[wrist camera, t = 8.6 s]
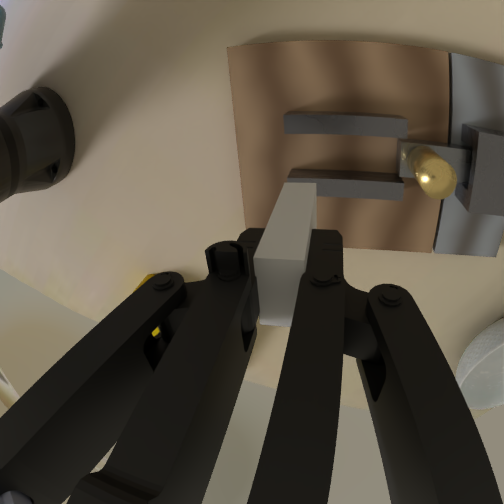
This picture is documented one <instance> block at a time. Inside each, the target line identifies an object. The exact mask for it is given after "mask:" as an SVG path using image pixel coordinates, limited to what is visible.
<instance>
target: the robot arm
mask: <svg viewBox="0 0 504 504" xmlns="http://www.w3.org/2000/svg"><path fill="white" fill-rule="evenodd" d="M5 19H6V12H5V10H4V8H3V7H2V6H1V5H0V48H2V46H3V44H2V42H1V41H2V35H3V30H4V24H5ZM74 148H75V139H74V130H73V124H72V120H71V117H70V114H69V112H68V109H67V107H66V105H65V104H64V102H63V101H62V99H61V98H60V97H59V96H58V94H56V93H55V92H54V91H53V90H51V89H49V88H46V87H37V88H33V89H29V90H26V91H23V92H21V93H20V94H18V95H17V96H15V97H14V98H13V99H11V100H10V101H9V102H7V103H6V104H5V105H3V106H2V107H1V108H0V203H1V202H2V201H4V200H5V199H7V198H9V197H10V196H12V195H14V194H18V193H24V192H31V191H38V190H44V189H47V188H49V187H51V186H53V185H55V184H57V183H58V182H60V181H61V180H63V179H64V178H65V176H66V175H67V173H68V172H69V170H70V167H71V165H72V161H73V157H74ZM316 226H317V198H316V183H284V185H283V188H282V190H281V193H280V195H279V197H278V200H277V202H276V205H275V207H274V209H273V212H272V214H271V217H270V219H269V221H268V224H267V226H266V228H248V229H246V230H245V231H244V232H242V233H241V234H240V236H239V238H238V240H237V241H222V242H218V243H215V244H213V245H211V246H209V247H208V248H207V249H206V250H205V255H206V260H207V265H208V270H209V274H208V276H207V278H206V279H205V280H202V281H196V282H189V283H185V282H184V279H183V277H182V275H181V274H179V273H177V272H162V273H159V274H156V275H154V276H153V277H151V278H150V279H148V280H147V281H146V282H145V283H144V284H142V285H141V286H140V287H139V288H138V289H137V290H136V291H134V292H133V293H132V294H131V295H130V296H129V297H128V298H126V299H125V300H124V301H123V302H122V303H121V304H120V305H119V306H117V307H116V308H115V309H114V310H113V311H112V312H111V313H110V314H108V315H107V316H106V317H105V318H104V319H103V320H102V321H101V322H100V323H99V324H98V325H96V326H95V327H94V328H93V329H92V330H91V331H90V332H89V333H88V334H86V335H85V336H84V337H83V338H82V339H81V340H80V341H79V342H78V343H77V344H76V345H75V346H73V347H72V348H71V349H70V350H69V351H68V352H67V353H66V354H65V355H64V356H63V357H62V358H61V359H60V360H59V361H57V362H56V363H55V364H54V365H53V366H52V367H51V368H50V369H49V370H48V371H47V372H46V373H45V374H44V375H43V376H42V377H41V378H40V379H39V380H38V381H37V382H36V383H35V384H34V385H33V386H32V387H31V388H30V389H29V390H28V391H27V392H26V393H25V394H24V395H23V396H22V397H21V398H20V399H19V400H18V401H17V402H16V403H15V404H14V405H13V406H12V407H11V408H10V409H9V410H8V411H7V412H6V413H5V414H4V415H3V416H2V417H1V418H0V504H62V503H63V502H64V501H65V500H66V499H67V498H68V497H69V496H70V495H71V496H70V498H69V500H68V502H67V504H202V501H203V498H204V495H205V492H206V489H207V486H208V484H209V481H210V478H211V475H212V472H213V469H214V466H215V463H216V460H217V458H218V455H219V452H220V449H221V446H222V443H223V439H224V436H225V434H226V431H227V428H228V425H229V421H230V418H231V415H232V412H233V409H234V406H235V403H236V400H237V397H238V393H239V391H240V388H241V384H242V381H243V378H244V375H245V372H246V369H247V365H248V362H249V359H250V356H251V353H252V349H253V346H254V343H255V340H256V336H257V328H256V322H257V319H258V316H259V318H260V324H261V325H272V326H284V327H291V328H290V333H289V338H288V342H287V347H286V352H285V356H284V361H283V365H282V370H281V374H280V378H279V383H278V387H277V391H276V396H275V400H274V404H273V408H272V412H271V417H270V420H269V424H268V428H267V432H266V436H265V440H264V444H263V448H262V452H261V455H260V459H259V463H258V467H257V470H256V474H255V477H254V481H253V484H252V488H251V491H250V495H249V498H248V502H247V504H327V502H328V497H329V490H330V484H331V477H332V470H333V463H334V455H335V447H336V438H337V429H338V419H339V408H340V396H341V383H342V367H343V354H346V355H349V356H352V357H355V358H356V362H357V366H358V369H359V373H360V376H361V380H362V383H363V387H364V391H365V394H366V398H367V402H368V405H369V409H370V413H371V417H372V421H373V424H374V428H375V433H376V436H377V441H378V445H379V449H380V453H381V458H382V462H383V466H384V471H385V476H386V480H387V485H388V490H389V495H390V500H391V504H503V502H502V499H501V496H500V492H499V489H498V485H497V482H496V479H495V476H494V473H493V470H492V467H491V464H490V461H489V458H488V455H487V453H486V450H485V447H484V445H483V442H482V439H481V437H480V434H479V432H478V429H477V427H476V424H475V422H474V419H473V417H472V415H471V412H470V410H469V407H468V405H467V403H466V401H465V398H464V396H463V394H462V392H461V390H460V387H459V385H458V383H457V381H456V379H455V377H454V375H453V372H452V370H451V368H450V366H449V364H448V362H447V360H446V358H445V356H444V354H443V352H442V350H441V348H440V346H439V345H438V343H437V341H436V339H435V337H434V335H433V333H432V331H431V329H430V328H429V326H428V324H427V322H426V320H425V318H424V317H423V315H422V313H421V311H420V310H419V308H418V306H417V304H416V303H415V301H414V299H413V297H412V296H411V294H410V293H409V292H408V291H407V290H406V289H404V288H402V287H400V286H397V285H394V284H381V285H377V286H375V287H373V288H372V289H371V290H370V292H369V293H368V292H364V291H361V290H358V289H355V288H354V287H352V286H350V285H349V284H348V283H347V282H346V280H345V279H344V275H343V236H342V235H341V234H340V233H339V231H338V230H329V229H316ZM157 327H158V329H159V333H158V334H157V335H155V336H153V335H152V332H153V331H154V330H155V329H156V328H157ZM116 442H117V443H116ZM115 443H116V445H115V447H114V449H113V451H112V453H111V455H110V456H109V458H108V460H107V462H106V464H105V466H104V467H103V468H102V469H101V470H100V471H98V472H94V473H90V472H91V471H92V470H93V468H94V467H95V466H96V465H97V464H98V463H99V462H100V460H101V459H102V458H103V457H104V456H105V455H106V453H107V452H108V451H109V450H110V449H111V448H112V446H113V445H114V444H115Z"/></svg>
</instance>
